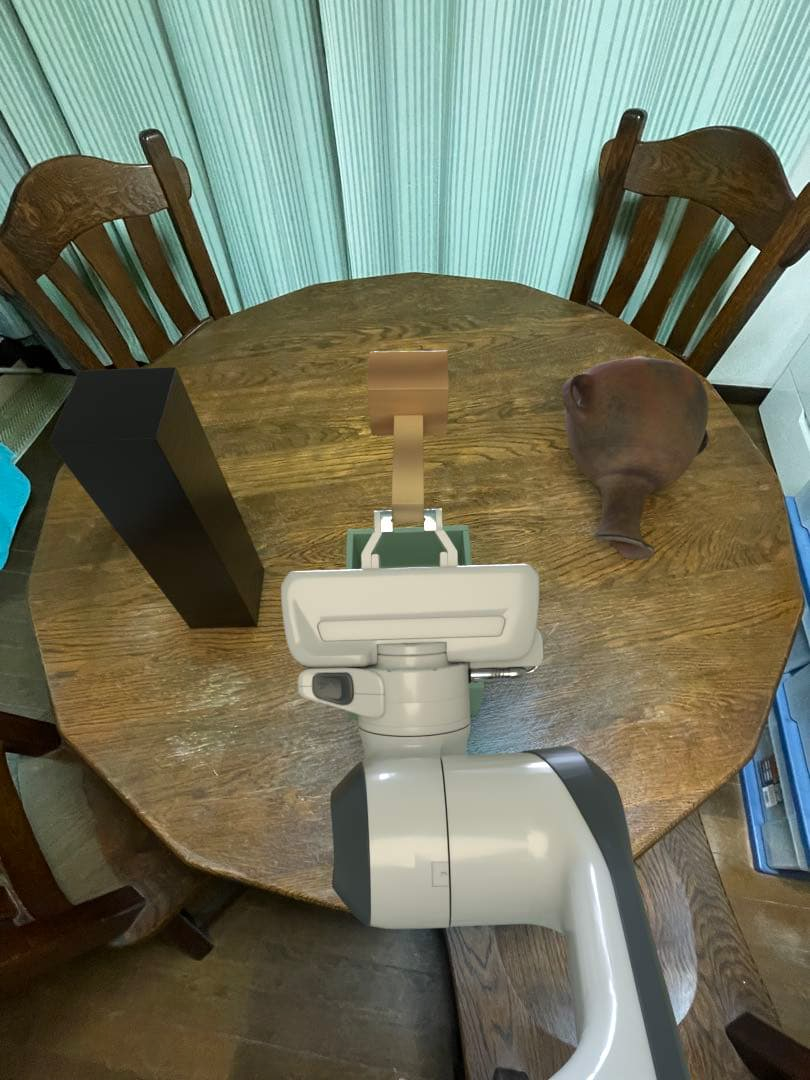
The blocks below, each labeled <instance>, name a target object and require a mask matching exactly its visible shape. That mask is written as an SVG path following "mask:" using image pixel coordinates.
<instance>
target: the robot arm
mask: <svg viewBox="0 0 810 1080" xmlns="http://www.w3.org/2000/svg"><path fill="white" fill-rule="evenodd" d="M373 524H374V525H373V527H374V528H373V529H374V533H372V535H371V537H370V539H369V541H368V543H367V544H366V546H365V548H364V550H363V552H362V554H361V569H346V568H345V569H317V570H316V569H315V570H291V571H289V572H288V574H286V576H285V577H284V579H282V581H281V584H280V602H281V603H280V604H281V614H282V624H283V631H284V635H285V640H286V644H287V648H288V650H289V652H290V654H291V656H292V658H293V659H294V660H295V661H296V662H297V663H299V664H300V665H302V666H303V668H302V669H301V670H300V672H299V674H298V677H297V691H298V694H299V695H300V696H301V697H302V698H304V699H306V700H308V701H312V702H315V703H319V704H323V705H326V706H330V707H331V708H332V707H333V708H336V709H339V710H342V711H345V712H347V711H349V712H352V713H355V714H358V719H357V726H358V727H357V728H358V734H359V737H360V741H361V743H362V748H363V761H361V760H360V761H358V763H357V764H356V765H354V766H353V767H352V768H351V770H349V771H348V773H346V775H345V776H344V777H343V778H342V779H341V780H340V781H339V782H338V783H337V784H336V785H335V787H333V789H332V790H331V792H330V798H329V799H330V800H329V803H330V805H329V806H330V815H331V827H332V829H331V830H332V840H333V843H332V844H333V869H332V877H331V888H332V889H333V891H334V892H335V894H337V896H338V897H339V899H340V901H341V902H342V903H343V904H344V906H345V907H346V908H347V910H349V912H350V913H351V914H352V915H353V916H354V917H355V918H356V919H358V920H359V921H360V922H361V923H362V924H363V925H365V926H366V927H367V928H369V927H374V928H378V929H385V930H425V929H426V930H427V929H449V927H470V926H471V927H474V926H503V925H504V926H505V925H534V926H539V927H544V928H547V929H549V930H553V931H555V932H557V933H559V934H560V935H562V936H563V937H564V938H565V946H566V947H565V948H566V955H567V965H568V966H567V967H568V974H569V983H570V984H569V985H570V991H571V992H570V993H571V1002H572V1009H573V1017H574V1028H575V1035H576V1045H577V1047H576V1048H575V1051H574V1052H573V1053H572V1055H571V1056H570V1058H569V1059H568V1061H566V1063H564V1065H563V1066H562V1067H561V1068H560V1069H559V1070H558V1071H557V1072H555V1073H554V1074H553V1075H552V1076H551V1077H550V1078H548V1079H547V1080H692V1076H691V1073H690V1068H689V1065H688V1061H687V1057H686V1053H685V1050H684V1046H683V1041H682V1037H681V1033H680V1030H679V1027H678V1022H677V1019H676V1016H675V1011H674V1008H673V1004H672V1001H671V997H670V993H669V990H668V986H667V982H666V979H665V975H664V971H663V967H662V965H661V960H660V957H659V953H658V950H657V946H656V942H655V939H654V934H653V931H652V927H651V923H650V921H649V917H648V913H647V909H646V906H645V903H644V899H643V895H642V891H641V887H640V884H639V879H638V875H637V871H636V865H635V859H634V853H633V849H632V839H631V834H630V833H631V832H630V827H629V821H628V817H627V813H626V810H625V806H624V804H623V801H622V797H621V795H620V791H619V788H618V786H617V784H616V782H615V780H614V779H613V778H612V777H611V776H610V775H609V774H608V773H607V772H606V771H605V770H604V769H603V768H602V767H600V766H599V765H598V764H597V763H596V762H595V761H593V760H592V759H591V758H589V757H588V756H587V755H585V754H584V753H582V752H581V751H579V750H578V749H577V748H575V747H574V746H571V745H561V746H553V747H545V748H535V749H528V750H522V751H520V752H507V753H506V752H504V753H503V752H501V753H474V754H473V753H472V754H470V753H469V754H468V752H467V751H468V750H467V749H468V742H469V741H468V739H469V737H470V733H471V723H472V722H471V716H470V697H469V684H470V683H472V682H474V683H477V682H484V683H491V682H496V681H497V682H499V681H509V682H521V681H525V680H527V676H531V675H533V674H535V673H536V672H537V671H538V670H539V669H540V668H541V667H542V665H543V662H544V658H545V649H544V636H543V634H542V631H541V630H540V628H539V627H538V619H539V609H540V576H539V573H538V572H537V570H536V569H534V568H533V567H532V565H530V564H529V563H512V564H511V563H508V564H507V563H506V564H477V565H473V564H472V566H458V553H457V550H456V548H455V547H454V545H453V543H452V542H451V540H450V539H449V537H448V535H447V534H446V532H445V531H444V530H443V526H444V525H443V524H444V523H443V510H442V508H424V522H423V527H424V532H434V534H435V535H436V537H437V539H438V540H439V542H440V544H441V545H442V547H443V548H444V550H445V552H441V553H440V554H439V567H409V568H381V565H380V556H379V555H378V554H374V552H375V550H376V548H377V546H378V545H379V543H380V541H381V539H382V537H383V535H384V534H393V528H394V523H393V511H392V509H391V510H388V509H386V510H383V509H382V510H374V511H373ZM468 662H469V668H470V670H469V669H468ZM527 667H528V668H529V667H531V668H529V669H526V668H527Z"/></svg>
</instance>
